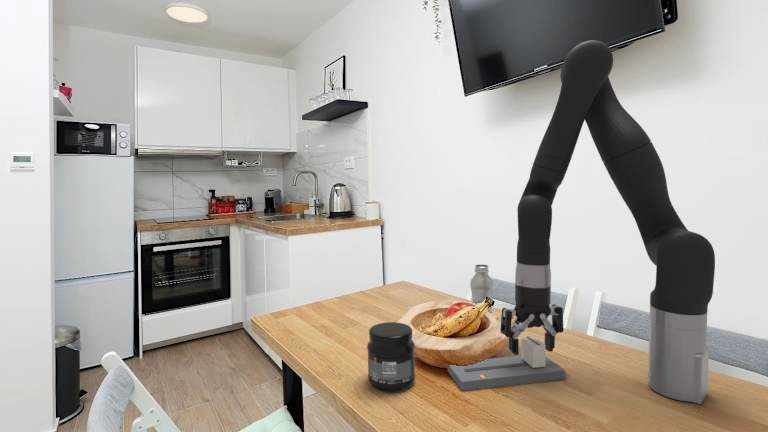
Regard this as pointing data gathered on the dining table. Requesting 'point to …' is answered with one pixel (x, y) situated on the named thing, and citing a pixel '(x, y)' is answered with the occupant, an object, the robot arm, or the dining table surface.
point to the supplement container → (391, 357)
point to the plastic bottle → (481, 285)
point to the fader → (533, 351)
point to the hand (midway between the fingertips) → (531, 351)
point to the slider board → (503, 373)
